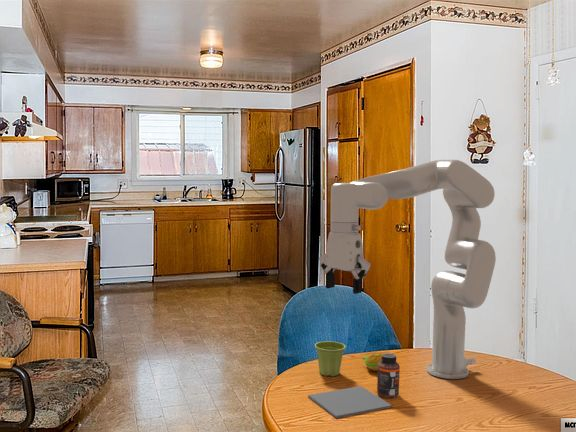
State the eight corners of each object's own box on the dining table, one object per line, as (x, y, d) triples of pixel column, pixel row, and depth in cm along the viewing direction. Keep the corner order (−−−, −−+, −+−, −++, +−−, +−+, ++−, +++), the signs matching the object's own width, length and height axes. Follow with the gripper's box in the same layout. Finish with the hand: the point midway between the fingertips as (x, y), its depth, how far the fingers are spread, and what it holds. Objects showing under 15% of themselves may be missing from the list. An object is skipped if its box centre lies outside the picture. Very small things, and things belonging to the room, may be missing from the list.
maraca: (369, 374, 178) (369, 357, 178) (358, 364, 188) (359, 347, 187) (390, 373, 179) (391, 356, 179) (379, 363, 189) (379, 346, 189)
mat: (360, 388, 167) (360, 386, 167) (392, 407, 153) (392, 405, 153) (308, 397, 159) (308, 395, 159) (335, 418, 146) (335, 415, 146)
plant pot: (328, 366, 186) (328, 339, 185) (351, 373, 179) (351, 345, 178) (307, 372, 179) (308, 345, 178) (331, 380, 172) (331, 352, 172)
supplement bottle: (398, 400, 158) (399, 359, 157) (376, 398, 159) (377, 357, 159) (398, 392, 164) (400, 352, 163) (377, 390, 165) (378, 351, 164)
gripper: (378, 229, 155) (377, 293, 157) (329, 225, 168) (328, 284, 169) (360, 231, 150) (360, 297, 152) (311, 227, 162) (311, 287, 164)
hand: (343, 290), depth 160 cm, fingers open, 9 cm apart
